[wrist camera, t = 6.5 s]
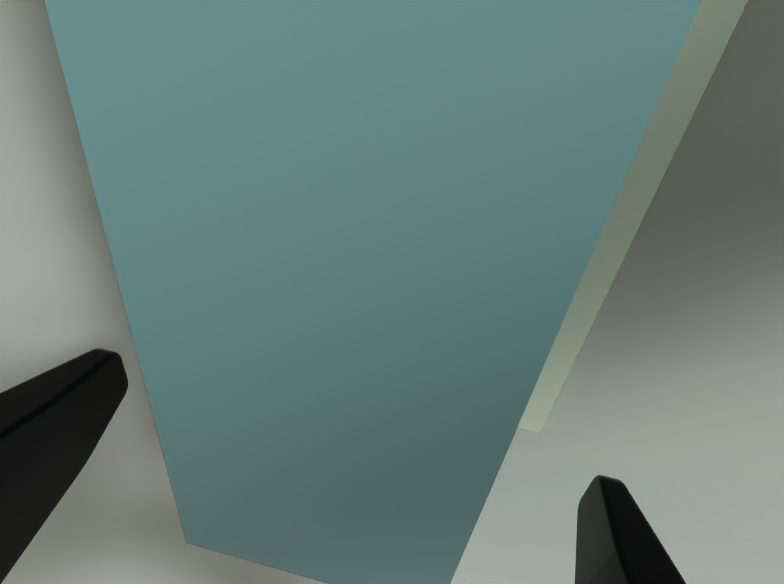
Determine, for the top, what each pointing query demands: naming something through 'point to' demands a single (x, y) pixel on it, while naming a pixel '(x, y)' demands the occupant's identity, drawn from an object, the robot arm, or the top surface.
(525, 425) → the pad
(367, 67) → the bar
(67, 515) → the top surface
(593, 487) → the robot arm
